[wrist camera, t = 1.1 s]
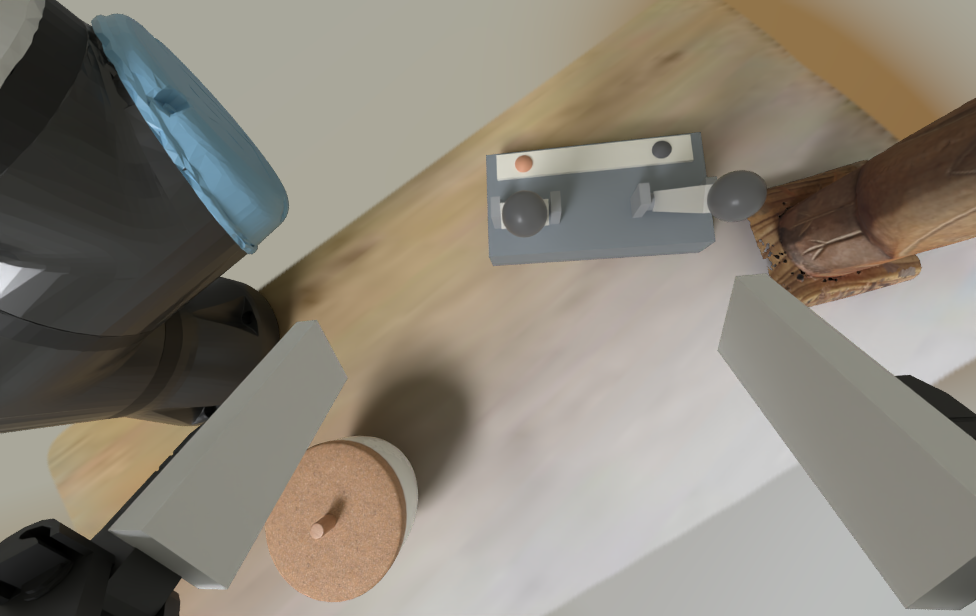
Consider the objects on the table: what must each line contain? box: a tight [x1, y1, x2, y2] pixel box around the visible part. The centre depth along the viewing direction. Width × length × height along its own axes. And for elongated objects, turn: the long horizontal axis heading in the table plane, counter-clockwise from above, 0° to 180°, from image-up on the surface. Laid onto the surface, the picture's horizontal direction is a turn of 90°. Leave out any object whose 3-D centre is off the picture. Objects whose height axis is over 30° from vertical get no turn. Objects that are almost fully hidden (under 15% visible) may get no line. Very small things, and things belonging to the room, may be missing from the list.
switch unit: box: [486, 132, 717, 266], centre depth 31 cm, size 10×19×6 cm, turn 92°
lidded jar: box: [265, 436, 418, 602], centre depth 28 cm, size 11×11×9 cm
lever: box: [647, 170, 767, 222], centre depth 24 cm, size 3×4×12 cm
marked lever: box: [500, 190, 549, 237], centre depth 26 cm, size 3×4×12 cm
